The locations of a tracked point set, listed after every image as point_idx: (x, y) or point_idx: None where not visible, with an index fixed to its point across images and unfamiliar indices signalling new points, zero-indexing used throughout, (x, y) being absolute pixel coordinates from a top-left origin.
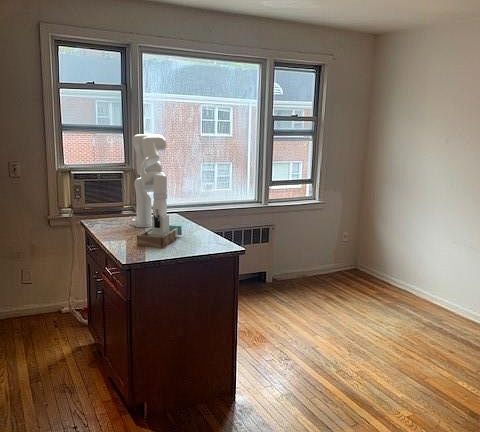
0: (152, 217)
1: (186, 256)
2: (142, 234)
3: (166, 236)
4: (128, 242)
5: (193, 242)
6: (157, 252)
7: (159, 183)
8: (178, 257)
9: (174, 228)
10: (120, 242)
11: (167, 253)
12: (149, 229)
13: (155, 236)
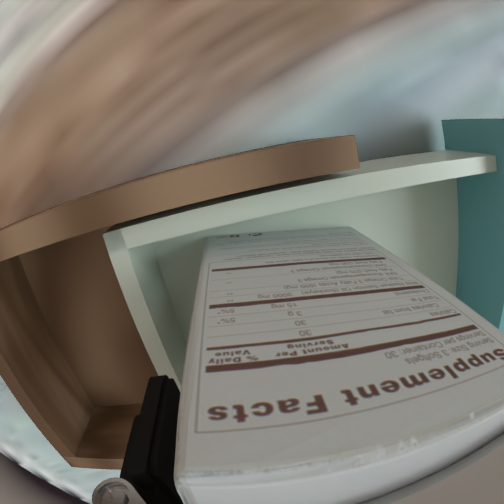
0: (180, 472)
1: (91, 501)
2: (7, 258)
3: None
4: (64, 56)
5: None
6: None
7: None
8: (60, 486)
9: None
10: (44, 11)
11: (55, 450)
12: (274, 156)
13: (44, 419)
